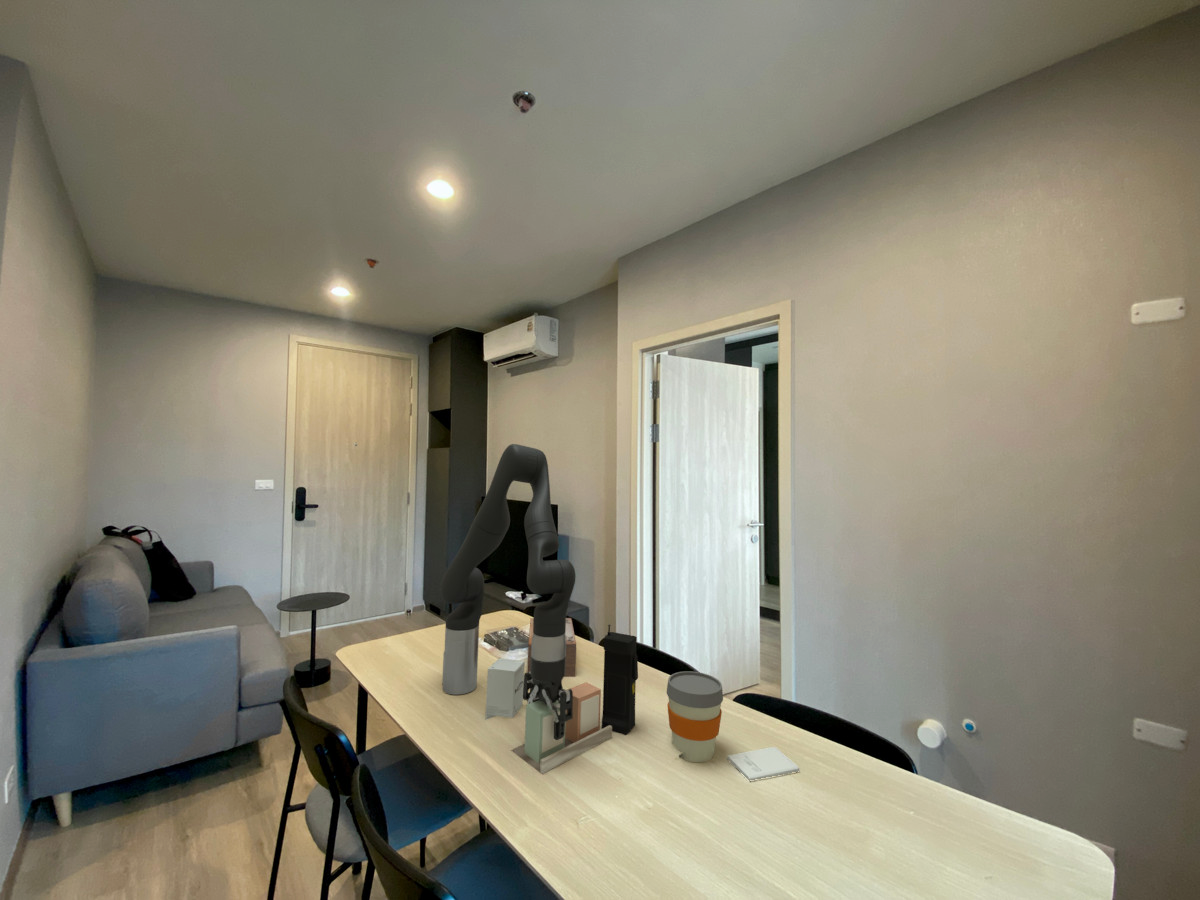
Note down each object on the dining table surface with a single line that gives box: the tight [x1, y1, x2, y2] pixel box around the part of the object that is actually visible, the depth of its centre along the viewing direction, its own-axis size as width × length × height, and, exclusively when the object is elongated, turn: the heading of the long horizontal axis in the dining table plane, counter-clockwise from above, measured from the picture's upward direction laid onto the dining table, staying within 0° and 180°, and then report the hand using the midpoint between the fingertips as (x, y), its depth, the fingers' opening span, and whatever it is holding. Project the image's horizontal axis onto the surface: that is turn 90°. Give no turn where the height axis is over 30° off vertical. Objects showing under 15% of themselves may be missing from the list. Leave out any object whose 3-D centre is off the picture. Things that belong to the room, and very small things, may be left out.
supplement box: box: [484, 657, 525, 721], centre depth 121 cm, size 7×7×13 cm
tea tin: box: [524, 700, 566, 764], centre depth 103 cm, size 5×7×10 cm
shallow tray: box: [510, 725, 613, 775], centre depth 106 cm, size 11×20×4 cm, turn 135°
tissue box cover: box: [526, 617, 577, 678], centre depth 157 cm, size 26×14×10 cm, turn 7°
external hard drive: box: [726, 746, 800, 781], centre depth 102 cm, size 2×8×12 cm
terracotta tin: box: [565, 681, 602, 743], centre depth 110 cm, size 5×7×10 cm
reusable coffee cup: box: [666, 671, 724, 763], centre depth 108 cm, size 13×13×15 cm
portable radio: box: [601, 624, 639, 736], centre depth 114 cm, size 8×6×25 cm
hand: (545, 730), depth 103 cm, fingers open, 8 cm apart
